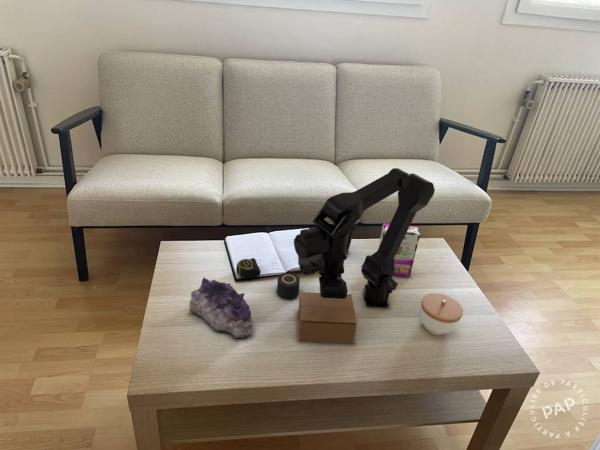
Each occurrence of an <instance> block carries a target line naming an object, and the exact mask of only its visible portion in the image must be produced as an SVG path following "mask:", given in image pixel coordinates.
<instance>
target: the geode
mask: <svg viewBox="0 0 600 450" xmlns="http://www.w3.org/2000/svg"><path fill="white" fill-rule="evenodd" d="M244 297H245V293H244V292H242V293H239V292H238V291H237V290H236V289H235V288H234V287H233V285H231V283H230V282H229V283H226V282H220V281H217V280H216V279H212V280H209V279H207V278H206V277H203V278H202V279H201V284H200V286H199V287H198V289H195V290H193V291H191V293H190V300H189V303H188V305H189V312H190V313H191V314H193V315H195V316H197V317H199V318H202V319H203V321H204V322H205V323H206V324H208V325H209V326H210V327H211V328H212V329H213V330H214V331H215V332H226V333H229V334H230V335H231V336H232V337H233V338H234V339H236V340H242V339H247V338H249V337H251V336H252V333H253V332H252V331H253V326H254V324H253V322H252V318H253V317H252V311H251V308H250V306H249V305H248V303H247V301H246V300H245V298H244Z"/></svg>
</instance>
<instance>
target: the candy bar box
mask: <svg viewBox="0 0 600 450" xmlns="http://www.w3.org/2000/svg"><path fill="white" fill-rule="evenodd" d="M389 225H390V223H385V222H384V223H382V226H381V227H382V228H381V233H380V239H379V244H378V247H379V246H380V244H381V242H382V240H383V238H384V235H385V233H386V231H387V229H388V227H389ZM420 237H421V232H420V229H419V227H418V226H412V225H410V227H409V229H408V231H407V233H406V235H405V237H404V239H403V241H402V243H401V245H400V247H399V249H398V251H397V253H396V255H395V258H394V267H395V271H394V274H393V276H396V277H397V276H398V277H405V278H410V276H411V273H412V269H413V265H414V261H415V257H416V253H417V249H418V245H419V241H420Z"/></svg>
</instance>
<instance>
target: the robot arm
mask: <svg viewBox="0 0 600 450" xmlns="http://www.w3.org/2000/svg"><path fill="white" fill-rule="evenodd" d="M435 191H436V189H435V186H434V183H433V182H431V181H430V180H428V179H426V178H423V177H422V176H420V175H418V174H416V173H412V172H411V173H408V172H406V171H404V170H403V169H400V168H399V167H393V168H392V169H390V170H389V172H388V173H385V174H384V175H382V176H380V177H379V178H377V179H375V180H373V181H372V182H370V183H368V184H366V185H364V186H363V187H361V188H359V189H357V190H354V191H351V192H340V193H338V194H335V195H331V196H330V197H329V198H327V199H326V200H325V202H324V204H323V206H322V207H321V209H320V210H319V211H318V213H316V215H315V217H314V219H313V220H312V223H313V224H314V225H315V227H310V228H304V229H300V232H299V234H297V235H295V237H294V238H293V247H294V251H295V253H296V255H297V262H298V263H297V264H298V267H299V272H300V273H301V274H302V275H304V276H311V275H315V274H316V273H317V272H318V274H319V276H318V282H319V293H320V296H321V297H323V298H336V299H345V298H347V294H348V291H349V290H348V285H347V282H346V281H345V280H344V279H343V274H345V266H344V265H345V261H347V257H348V256H347V255H348V254H347V255H346V247H347V241H348V235H349V232H350V231H354V232H355V231H356V230H357V229H358V227H357V226H356V225H355V226H354V225H353V224H354V223H355V222H356V221H357V222H358V221H359V220H360V219H361V218H362V216H363V214H364V212H365V211H367V210H368V209H369V208H371V207H373V206H374V205H376V204H378V203H380V202H381V201H384V200H385V199H387V198H388V197H390V196H392V195H393V194H395V193H397V201H398V206H397V207H396V209H395V211H394V214H393V215H392V218H391V221H390V223H389V224H390V225H389V227H388V229H387V231H386V233H385V235H384V238H383V240H382V242H381V244H380V246H379V245H378V247H377V250H376V252H374V253H372V254H371V255H370V254H368V255H366V257H365V259H364V260H363V261H364V262H363V263H362V264H361V266H360V267H361V270H360V271H361V275H362V276H363V278H364V279H365V280H366V284H364V287H363V293H362V297H363V301H364V302H365V307H367V308H384V309H388V308H389V297H390V295H391V294H392V293H393V291H395V290H396V289H397V288H398V287H397V286H398V285H399V283H398V282H397V281H396V280H395V279H394V278H393V276H394V275H393V274H394V271H395V267H394V258H395V255H396V253H397V251H398V249H399V247H400V245H401V243H402V241H403V239H404V237H405V235H406V233H407V231H408V229H409V227H410V226H411V224H412V223H413V220H414V218H415V216H416V215H417V213H418V212H419V211H421V210H422V209H424V208H425V207H427V206H428V204H429V202H430V201H431V199H432V198H433V196H434V194H435ZM326 219H327V220H328V221H327V220H326ZM329 221H330V222H332V223H330V222H329Z"/></svg>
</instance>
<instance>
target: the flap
mask: <svg viewBox="0 0 600 450" xmlns="http://www.w3.org/2000/svg"><path fill="white" fill-rule="evenodd" d="M299 293H300V294H299V298H300V297H301V305H302V306H322V307H343V308H354V309H355V305H354V300H353V294H350V293H347V298H345V299H336V298H323V297H321V296H320V292H315V291H314V292H313V291H299Z"/></svg>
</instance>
